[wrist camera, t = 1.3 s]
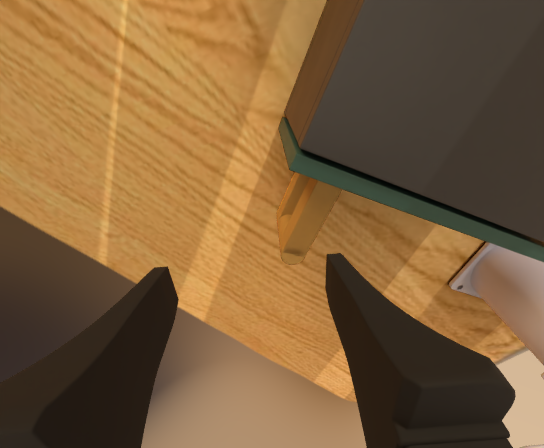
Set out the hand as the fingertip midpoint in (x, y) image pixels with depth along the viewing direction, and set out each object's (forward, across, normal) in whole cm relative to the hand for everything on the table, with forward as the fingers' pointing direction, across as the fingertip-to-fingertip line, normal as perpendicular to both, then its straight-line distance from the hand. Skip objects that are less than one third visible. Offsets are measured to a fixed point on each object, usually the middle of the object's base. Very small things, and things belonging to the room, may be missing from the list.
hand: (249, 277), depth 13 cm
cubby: (+10, -12, -6) cm, 17 cm away
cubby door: (+10, -8, +1) cm, 13 cm away
